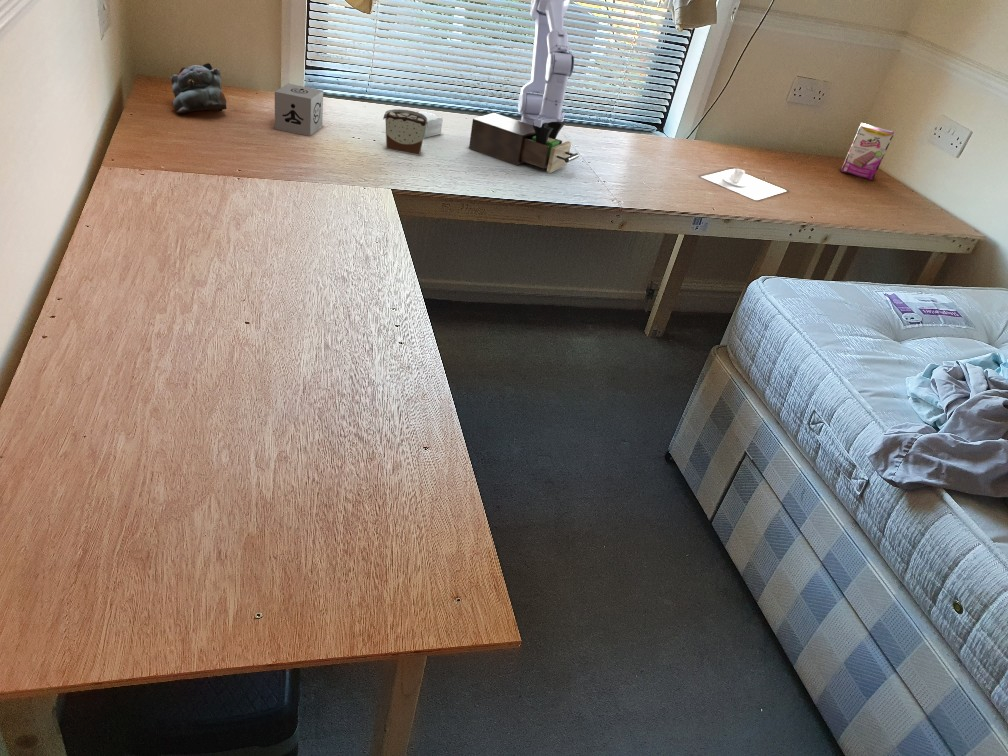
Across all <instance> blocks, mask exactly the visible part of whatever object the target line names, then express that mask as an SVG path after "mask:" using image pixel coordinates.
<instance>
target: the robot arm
mask: <svg viewBox="0 0 1008 756" xmlns="http://www.w3.org/2000/svg"><path fill="white" fill-rule="evenodd" d="M569 6H570V0H531V2H530V17H531V18H532V19H533V20H534V21H535V22H534V24H535V25H534V26H535V31H534V39H533V40H534V41H533V51H532V52H533V53H532V62H531V63H532V64H531V73H530V76H531V77H530V81H529V82H527V83H526V84H524V85H523V86H522V87H521V88H520V93H519V96H518V101H517V111H518V113H519V115H521V118H520V121H521V122H524V123H527V124H530V125H533V128H534V130H535V135H536V142H538V143H541V144H544V145H546V143H547V140H548V137H549V138H552V139H557V137H558V135H559V133H560V131H561V130H562V129H563V127H564V125H565V122H564V121H565V114H566V112H565V111H563V106H564V102H565V97H566V92H567V87H568V81H569V78H570V77H571V76H572V74H573V72H574V67H575V55H574V54H573V52H572V51H571V50H570V44H569V34H568V32H567V31H566V30H565V29H564V16H565V14H566V13H567V11H568V9H569Z"/></svg>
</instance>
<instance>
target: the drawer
mask: <svg viewBox="0 0 1008 756" xmlns="http://www.w3.org/2000/svg"><path fill="white" fill-rule="evenodd" d="M534 136H536V135H535V134H532V135H530V136H527V137H524V138H523V143H522V149H521V155H520V160H521V161H524V162H525V163H526V164H529V165H533V166H535V167H539V168H541V169H546V173H549V174H551V173H553V172H555V171H557V170H560V169H562V168H564V167H567V165H568V163H570V162H573V161H575V160H576V159H579V157H580V155H579V153H578V152H575V153H572V152H570V151H571V146H572V142H571V141H568V140H567V141H565V142H563V140H561V139H558V138H556V139H555V140H558V141H560V142H559V145H557V146H555V147H552V148H551V152H550V157H547V156H548V151H549V146H547V145H544V144H541V143H538V142H536V141H533V140H532V137H534Z"/></svg>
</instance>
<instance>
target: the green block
mask: <svg viewBox="0 0 1008 756" xmlns="http://www.w3.org/2000/svg"><path fill="white" fill-rule="evenodd" d="M532 140H533V141H536V136H534V137H532ZM558 140H559V139H558ZM558 140H555V139H552V138H549V137H548V140H547V143H546V145H547V146H549V151H548V156H547V157H550V152H551V148H552V147H555V146H557V145H559V142H560V141H558Z"/></svg>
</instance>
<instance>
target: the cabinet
mask: <svg viewBox="0 0 1008 756" xmlns="http://www.w3.org/2000/svg"><path fill="white" fill-rule="evenodd" d="M470 130H471V131H470V137H469V145H468V149H470V150H473V151H475V152H478V153H480V154H484V155H487V156H490V157H492V158H495V159H498V160H501V161H504V162H507V163H509V164H512V165H515V166H520V165H523V164H524V163H526V162H524V161H521V160H520V155H521V149H522V143H523V138H524V137H527V136H530V135H532V134H535V130H534V128H533V125H530V124H527V123H524V122H521V120H517V119H514V118H512V117H508V116H505V115H502V114H499V113H496V112H491V113H488V114H485V115H481V116H478V117H477V116H476V117H474V118H472V121H471V129H470Z"/></svg>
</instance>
